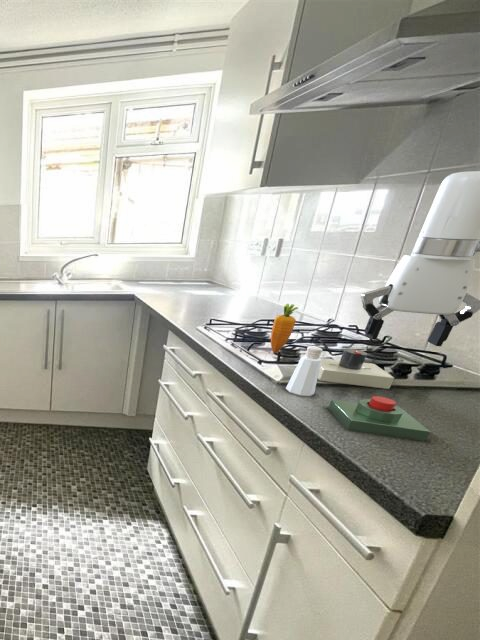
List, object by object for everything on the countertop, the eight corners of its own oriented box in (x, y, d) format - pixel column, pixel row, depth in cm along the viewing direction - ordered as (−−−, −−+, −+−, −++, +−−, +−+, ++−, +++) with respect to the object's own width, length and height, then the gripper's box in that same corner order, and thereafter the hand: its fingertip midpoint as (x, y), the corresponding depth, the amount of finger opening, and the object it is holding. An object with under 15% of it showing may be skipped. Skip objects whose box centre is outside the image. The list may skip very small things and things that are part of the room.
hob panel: (369, 374, 109) (374, 363, 107) (389, 389, 100) (394, 377, 99) (305, 367, 113) (309, 356, 112) (319, 380, 105) (323, 369, 103)
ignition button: (387, 405, 84) (390, 397, 83) (396, 413, 81) (400, 405, 80) (364, 402, 85) (368, 395, 84) (373, 410, 82) (376, 402, 81)
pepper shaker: (298, 386, 101) (314, 343, 97) (319, 395, 96) (337, 351, 92) (279, 387, 100) (294, 344, 96) (299, 397, 96) (316, 352, 91)
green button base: (397, 418, 87) (405, 400, 85) (425, 441, 78) (435, 423, 77) (327, 408, 91) (334, 391, 89) (347, 429, 82) (354, 411, 80)
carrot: (266, 349, 127) (282, 300, 121) (286, 353, 123) (303, 303, 117) (262, 353, 123) (278, 303, 117) (282, 357, 120) (299, 306, 114)
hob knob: (335, 362, 108) (341, 346, 106) (356, 364, 107) (363, 348, 105) (342, 368, 104) (349, 352, 103) (364, 370, 103) (371, 354, 101)
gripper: (494, 249, 74) (448, 341, 81) (372, 245, 80) (339, 330, 87) (526, 254, 68) (473, 353, 75) (391, 248, 74) (354, 340, 81)
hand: (401, 340), depth 81 cm, fingers open, 9 cm apart
